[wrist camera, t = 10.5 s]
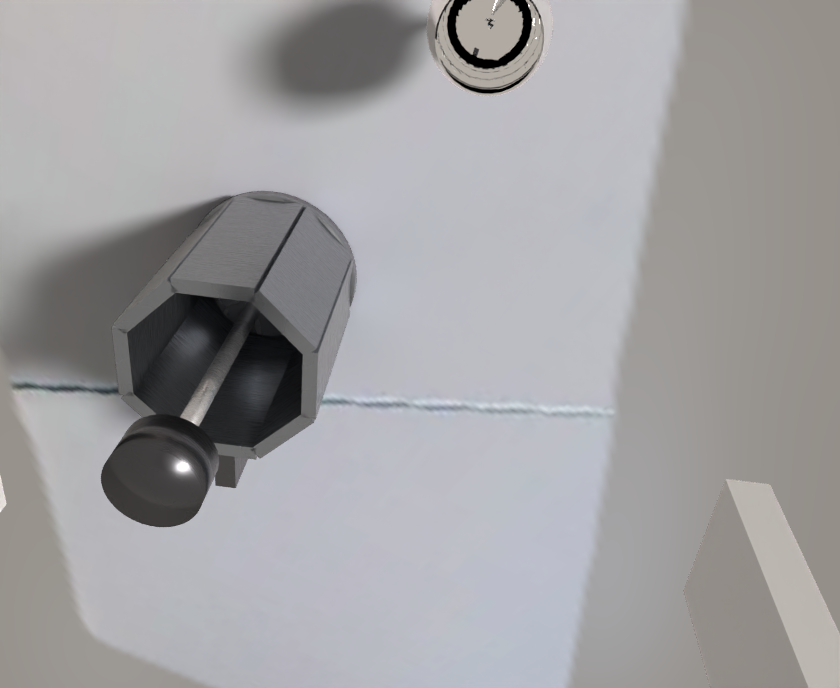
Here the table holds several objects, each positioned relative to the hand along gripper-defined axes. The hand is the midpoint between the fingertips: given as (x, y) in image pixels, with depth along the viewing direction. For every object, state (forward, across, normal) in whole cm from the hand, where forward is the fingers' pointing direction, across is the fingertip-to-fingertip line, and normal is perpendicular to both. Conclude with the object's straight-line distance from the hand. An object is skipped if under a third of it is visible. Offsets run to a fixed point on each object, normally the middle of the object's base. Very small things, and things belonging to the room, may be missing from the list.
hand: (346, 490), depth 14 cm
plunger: (+35, -10, -14) cm, 39 cm away
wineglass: (+37, +2, +4) cm, 37 cm away
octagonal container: (+37, -10, -16) cm, 41 cm away
